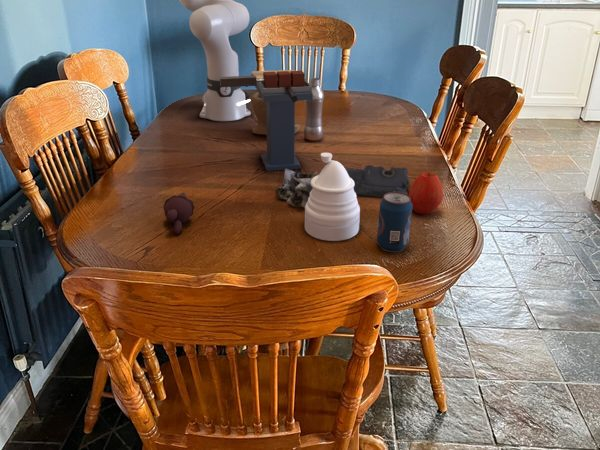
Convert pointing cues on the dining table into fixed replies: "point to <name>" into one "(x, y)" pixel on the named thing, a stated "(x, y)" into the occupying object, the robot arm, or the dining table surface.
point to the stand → (281, 130)
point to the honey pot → (332, 204)
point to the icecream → (178, 210)
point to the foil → (296, 188)
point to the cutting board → (260, 73)
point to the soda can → (394, 221)
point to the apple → (426, 193)
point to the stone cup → (262, 115)
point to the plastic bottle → (314, 112)
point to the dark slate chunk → (378, 180)
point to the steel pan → (286, 90)
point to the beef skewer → (267, 80)
